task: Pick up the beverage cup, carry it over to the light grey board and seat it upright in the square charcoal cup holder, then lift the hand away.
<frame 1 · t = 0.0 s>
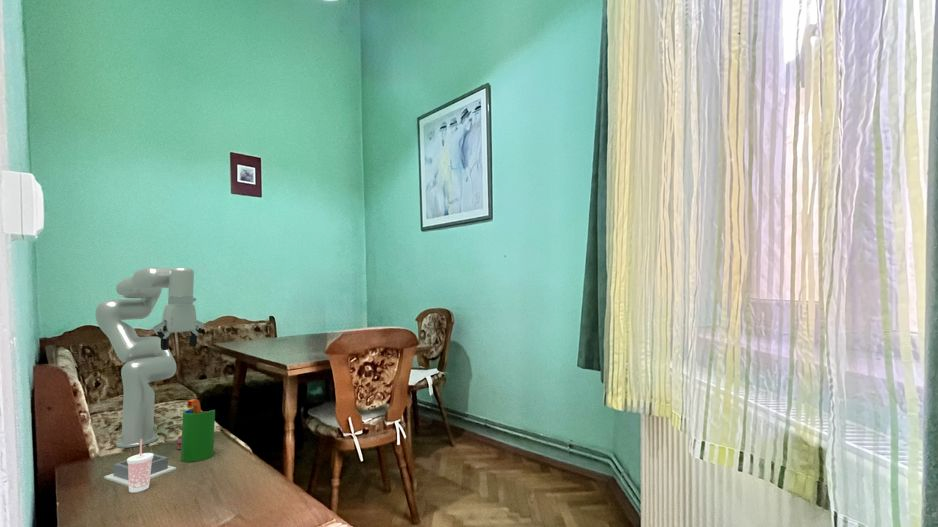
hand: (179, 348, 152), 37 cm above the table, tool pointing down, fingers open, 9 cm apart
toy fire truck: (194, 444, 157), on the table
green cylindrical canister: (197, 457, 144), on the table
beverage cup: (139, 489, 121), on the table
cup holder: (140, 473, 131), on the table
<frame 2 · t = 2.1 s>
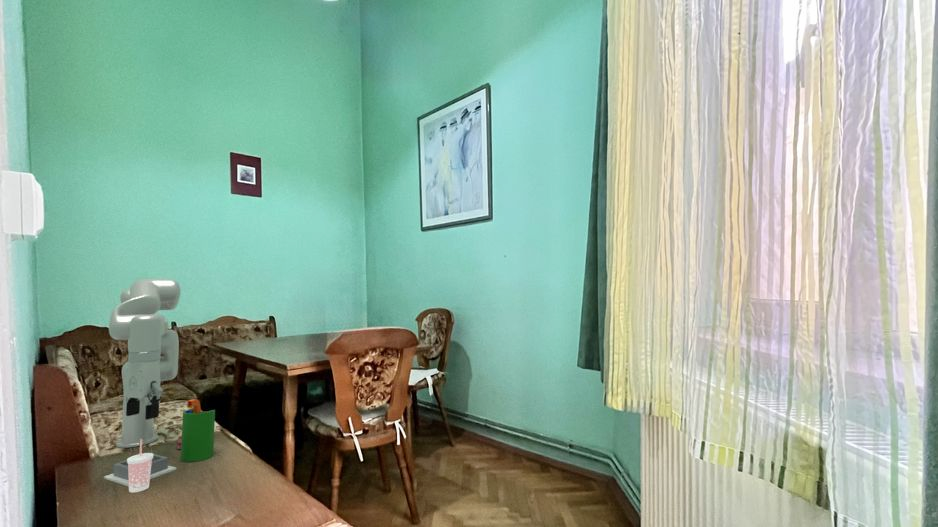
hand: (142, 416, 122), 21 cm above the table, tool pointing down, fingers open, 9 cm apart
nothing on the table moved.
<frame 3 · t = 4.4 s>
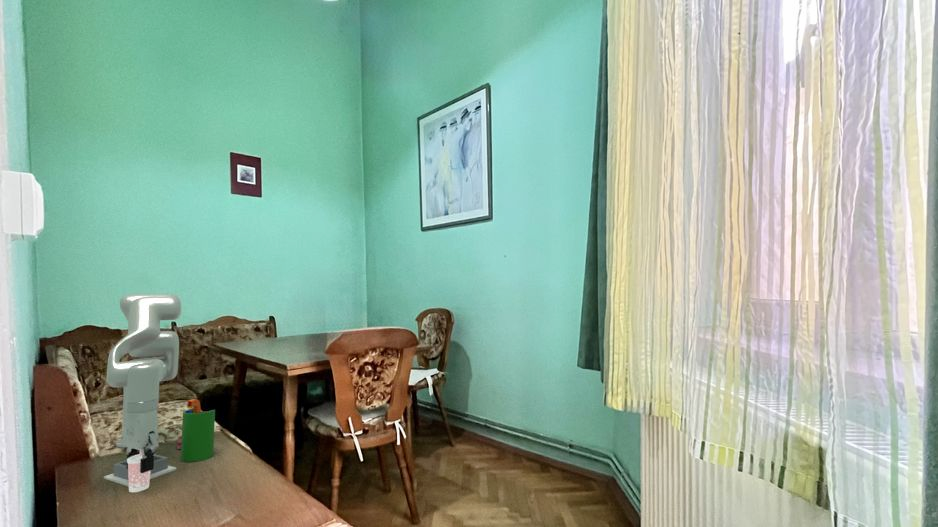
hand: (139, 468, 121), 6 cm above the table, tool pointing down, fingers closed on beverage cup, 6 cm apart
beverage cup: (139, 489, 121), on the table, touching gripper
everything else where it was.
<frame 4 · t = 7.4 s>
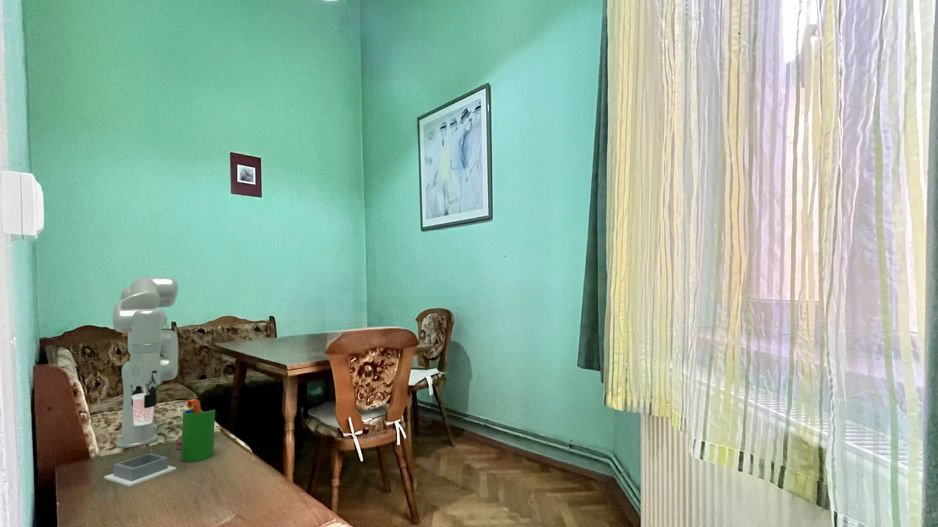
hand: (143, 405, 132), 21 cm above the table, tool pointing down, fingers closed on beverage cup, 6 cm apart
beverage cup: (142, 423, 132), point 15 cm above the table, touching gripper
everything else where it was.
when the fingers open (8 cm above the table, at t = 10.7 s): beverage cup drops 1 cm, resting on cup holder.
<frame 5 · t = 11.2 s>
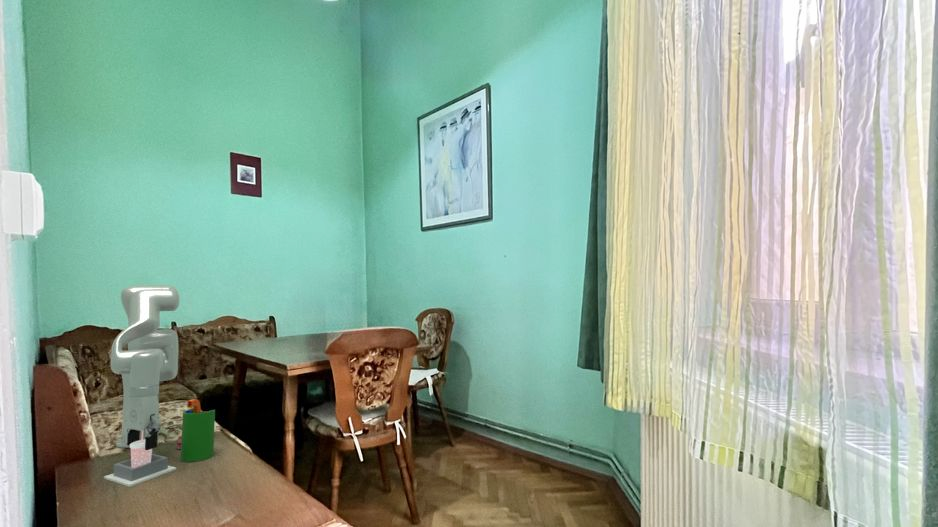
hand: (142, 446, 131), 8 cm above the table, tool pointing down, fingers open, 9 cm apart
beverage cup: (140, 472, 131), resting on cup holder
everything else where it was.
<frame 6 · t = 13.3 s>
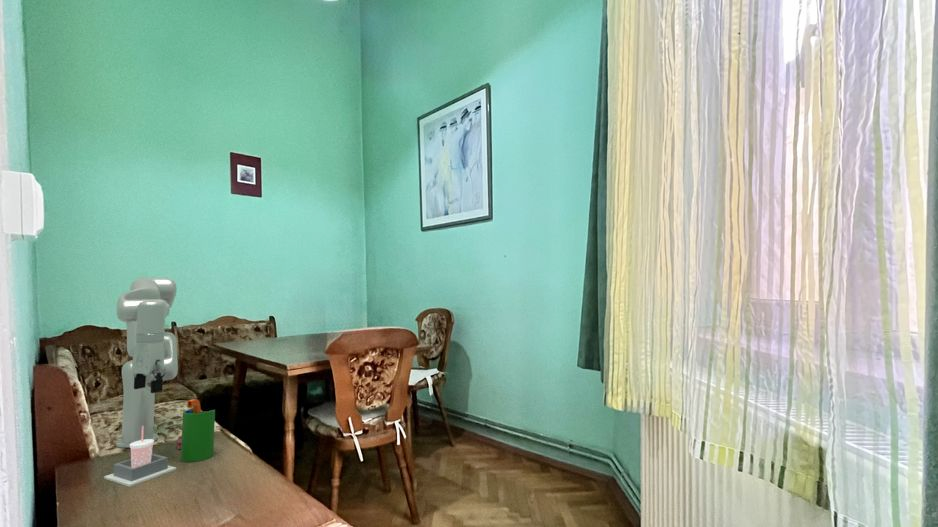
hand: (147, 390, 137), 25 cm above the table, tool pointing down, fingers open, 9 cm apart
nothing on the table moved.
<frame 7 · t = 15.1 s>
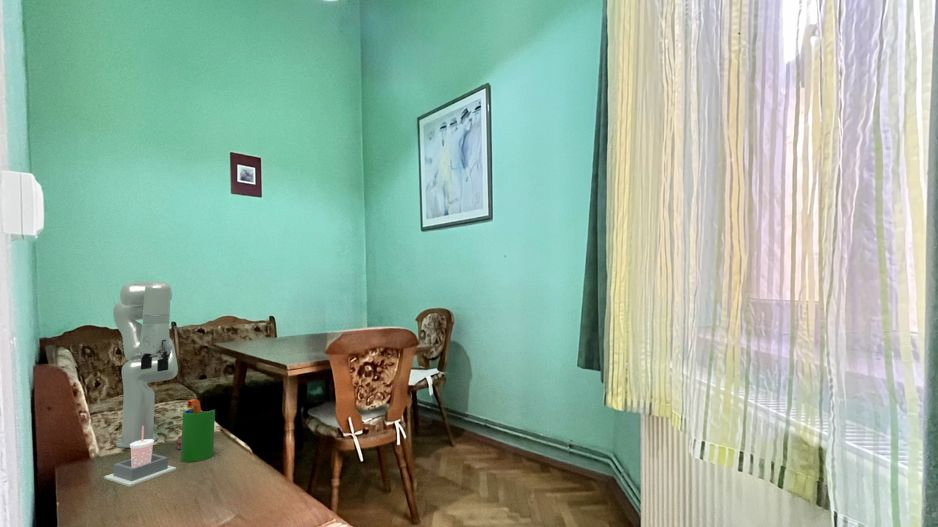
hand: (154, 369, 144), 30 cm above the table, tool pointing down, fingers open, 9 cm apart
nothing on the table moved.
at the end: beverage cup 0.3 cm off-centre on the cup holder, point 0.4 cm above the cup holder's base; beverage cup tilted 0°; the gripper is holding nothing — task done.
